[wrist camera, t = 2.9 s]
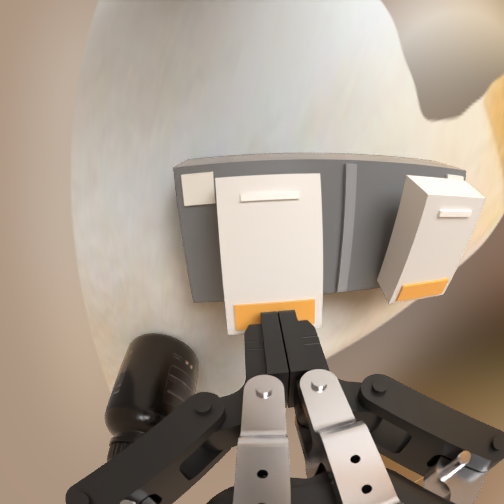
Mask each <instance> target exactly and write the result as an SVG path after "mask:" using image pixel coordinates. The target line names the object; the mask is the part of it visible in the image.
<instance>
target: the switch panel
mask: <svg viewBox="0 0 504 504" xmlns="http://www.w3.org/2000/svg"><path fill="white" fill-rule="evenodd" d="M173 171H174V180H175V188H176V196H177V204H178V212H179V219H180V226H181V233H182V239H183V246H184V252H185V258H186V264H187V270H188V275H189V281H190V286H191V292H192V297H193V302H194V303H197V302H219V301H225V300H224V289H223V278H222V267H221V255H220V242H219V229H218V215H217V200H216V184H215V178H221V177H235V176H251V175H272V174H309V173H320V179H321V198H322V226H323V294H327V293H336V292H346V291H355V290H363V289H372V288H380V285H379V283H378V281H377V279H378V276H379V273H380V270H381V267H382V264H383V261H384V258H385V255H386V252H387V248H388V245H389V242H390V238H391V235H392V231H393V228H394V224H395V221H396V217H397V213H398V209H399V205H400V201H401V197H402V193H403V189H404V184H405V179H406V175H412V176H425V177H436V178H446V179H455V180H464V181H465V177H466V171H465V170H462V169H459V168H456V167H453V166H449V165H446V164H443V163H439V162H435V161H431V160H423V159H414V158H404V157H393V156H380V155H365V154H342V153H273V154H250V155H234V156H220V157H209V158H198V159H189V160H186V161H184V162H182V163H181V164H179V165H177V166H175V167H174V168H173Z"/></svg>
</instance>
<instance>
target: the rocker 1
mask: <svg viewBox="0 0 504 504" xmlns="http://www.w3.org/2000/svg"><path fill="white" fill-rule="evenodd" d="M215 184H216V200H217V215H218V229H219V242H220V255H221V267H222V278H223V289H224V300H225V310H226V320H227V330H228V335H237V334H244V333H245V331H246V329H247V327H248V326H249V325H252V324H261V321H260V312H273V311H277V314H278V311H284V310H295V312H296V316H297V319H298V321H300V320H308V321H309V322H310V323H311V324H312V325H313V326H314V327H315V328H320V327H322V306H323V226H322V198H321V179H320V173H309V174H272V175H251V176H235V177H221V178H215Z"/></svg>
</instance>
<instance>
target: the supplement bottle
mask: <svg viewBox="0 0 504 504" xmlns="http://www.w3.org/2000/svg"><path fill="white" fill-rule="evenodd" d="M197 371H198V363H197V359H196V356H195V354H194V353H193V351H192V350H191V349H190V348H189V347H188V346H187V345H186V344H184V343H183V342H182V341H180V340H178V339H176V338H174V337H171V336H168V335H164V334H157V333H151V334H145V335H142V336H139V337H137V338H136V339H134V340H133V341H132V342H131V344H130V346H129V348H128V350H127V352H126V355H125V357H124V360H123V363H122V365H121V368H120V371H119V374H118V376H117V379H116V382H115V385H114V388H113V391H112V393H111V396H110V400H109V402H108V405H107V409H106V412H105V422H106V426H107V428H108V430H109V431H110V433H111V434H112V435H113V436H114V437H113V438H111V440H110V444H109V446H110V449H109V453H108V457H107V461H109V460H111V459H112V458H114V457H115V456H116V455H118V454H119V453H120V452H122V451H123V450H124V449H126V448H127V447H128V446H130V445H131V444H132V443H134V442H135V441H136V440H138V439H139V438H140V437H141V436H143V435H144V434H145V433H147V432H148V431H149V430H150V429H152V428H153V427H154V426H155V425H157V424H158V423H159V422H160V421H162V420H163V419H164V418H165V417H166V416H168V415H169V414H170V413H171V412H172V411H174V410H175V409H176V408H177V407H178V406H180V405H181V404H182V403H183V402H184V401H186V400H187V399H188V398H189V397H191V396H192V395H194V394H195V391H196V381H197Z"/></svg>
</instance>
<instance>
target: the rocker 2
mask: <svg viewBox="0 0 504 504" xmlns="http://www.w3.org/2000/svg"><path fill="white" fill-rule="evenodd" d="M485 199H486V198H485V197H483V196H482V195H481V194H480V193H479V192H478V191H476V190H475V189H474V188H473V187H472V186H470V185H469V184H468V183H467V182H465V181H464V180H455V179H446V178H436V177H425V176H412V175H406V179H405V184H404V189H403V193H402V197H401V201H400V205H399V209H398V213H397V217H396V221H395V224H394V228H393V231H392V235H391V238H390V242H389V245H388V248H387V252H386V255H385V258H384V261H383V264H382V267H381V270H380V273H379V276H378V279H377V281H378V283H379V285H380V287H381V289H382V291H383V293H384V295H385V297H386V300H387V302H388V304H393V303H399V302H405V301H410V300H416V299H422V298H427V297H432V296H437V295H442V294H444V292H445V290H446V288H447V286H448V284H449V283H450V281H451V279H452V277H453V275H454V273H455V271H456V269H457V267H458V265H459V263H460V261H461V259H462V256H463V254H464V252H465V250H466V248H467V245H468V243H469V241H470V238H471V236H472V234H473V231H474V229H475V226H476V224H477V221H478V218H479V216H480V213H481V210H482V208H483V205H484V202H485Z"/></svg>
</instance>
